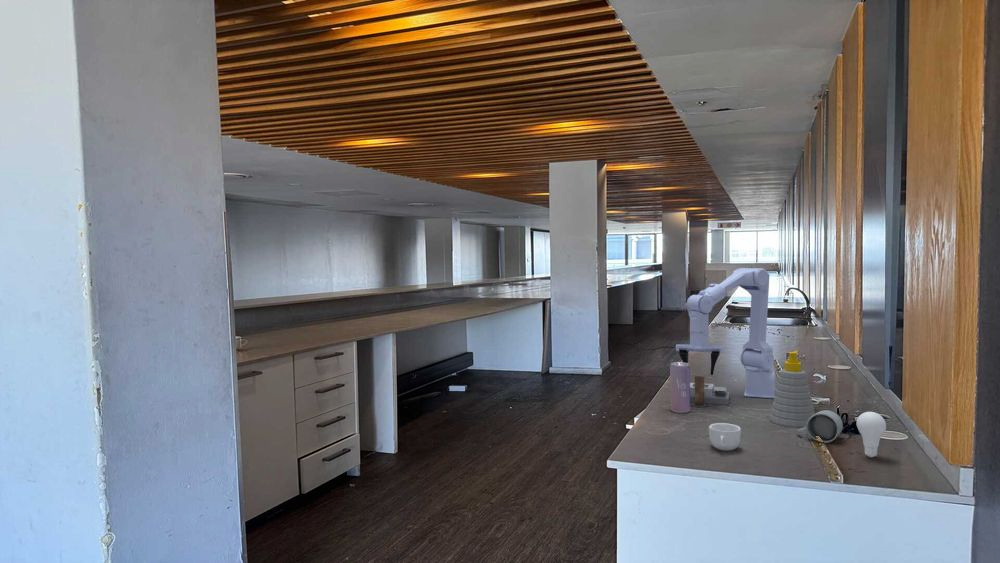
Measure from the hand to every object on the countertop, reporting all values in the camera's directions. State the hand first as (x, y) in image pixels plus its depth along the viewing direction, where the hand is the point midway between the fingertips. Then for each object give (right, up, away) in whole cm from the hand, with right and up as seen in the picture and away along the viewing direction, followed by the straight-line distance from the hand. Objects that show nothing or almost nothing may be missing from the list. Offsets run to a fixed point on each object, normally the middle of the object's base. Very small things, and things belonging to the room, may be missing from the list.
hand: (699, 373), depth 203 cm
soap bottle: (+21, -11, -20) cm, 31 cm away
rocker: (+9, -7, +6) cm, 13 cm away
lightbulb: (+25, -13, -52) cm, 59 cm away
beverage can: (-8, -11, -6) cm, 15 cm away
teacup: (-8, -13, -44) cm, 46 cm away
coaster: (0, -10, +1) cm, 10 cm away
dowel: (0, -10, 0) cm, 10 cm away
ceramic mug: (+20, -12, -37) cm, 44 cm away
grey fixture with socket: (+6, -10, +8) cm, 14 cm away
